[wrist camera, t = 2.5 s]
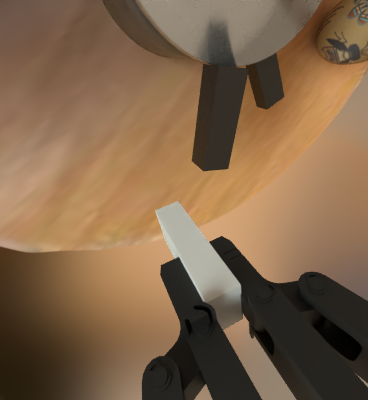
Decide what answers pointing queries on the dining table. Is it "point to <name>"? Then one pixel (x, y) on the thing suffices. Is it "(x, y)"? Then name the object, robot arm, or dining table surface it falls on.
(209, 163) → the cooker lid
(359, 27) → the ceramic vessel
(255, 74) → the pressure cooker
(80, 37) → the dining table surface
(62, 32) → the dining table surface
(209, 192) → the dining table surface
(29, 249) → the dining table surface
